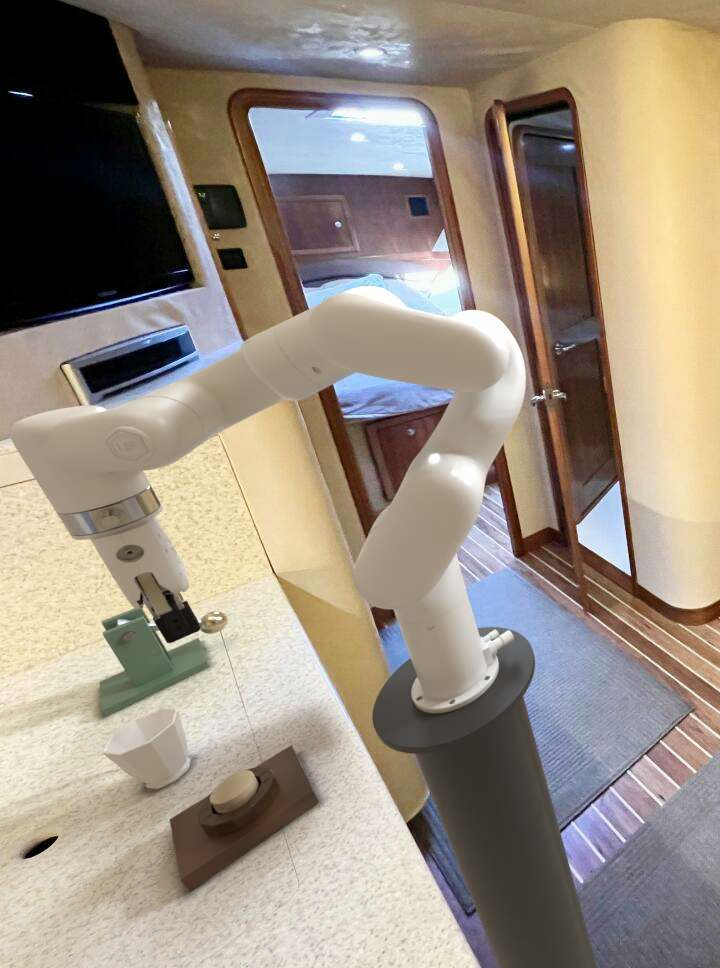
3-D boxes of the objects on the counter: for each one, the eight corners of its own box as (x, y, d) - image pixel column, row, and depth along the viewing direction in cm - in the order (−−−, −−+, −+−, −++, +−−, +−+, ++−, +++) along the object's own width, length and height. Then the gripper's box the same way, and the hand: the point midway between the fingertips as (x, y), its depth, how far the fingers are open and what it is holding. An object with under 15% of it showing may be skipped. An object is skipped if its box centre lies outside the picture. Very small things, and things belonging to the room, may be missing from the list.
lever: (222, 627, 94) (228, 607, 94) (226, 636, 91) (232, 615, 91) (110, 636, 83) (117, 613, 83) (111, 646, 81) (119, 623, 81)
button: (255, 773, 66) (249, 763, 65) (262, 793, 63) (256, 783, 63) (213, 799, 63) (206, 789, 62) (219, 821, 60) (212, 811, 60)
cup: (141, 810, 66) (109, 765, 63) (118, 773, 71) (88, 730, 68) (212, 763, 72) (186, 719, 69) (186, 731, 77) (161, 689, 74)
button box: (297, 755, 72) (287, 734, 70) (319, 802, 65) (308, 780, 64) (177, 831, 63) (162, 809, 62) (189, 892, 57) (172, 869, 56)
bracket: (201, 642, 94) (171, 588, 90) (209, 666, 88) (178, 609, 84) (102, 687, 86) (64, 629, 81) (105, 716, 80) (64, 656, 76)
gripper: (161, 516, 60) (229, 643, 66) (154, 482, 69) (215, 595, 76) (60, 548, 55) (146, 682, 61) (69, 506, 64) (142, 625, 71)
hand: (184, 634), depth 69 cm, fingers closed
